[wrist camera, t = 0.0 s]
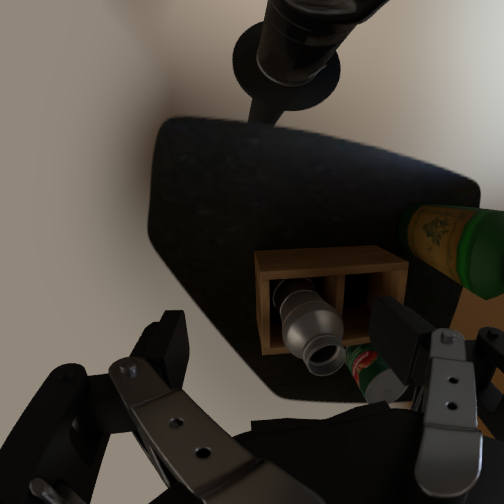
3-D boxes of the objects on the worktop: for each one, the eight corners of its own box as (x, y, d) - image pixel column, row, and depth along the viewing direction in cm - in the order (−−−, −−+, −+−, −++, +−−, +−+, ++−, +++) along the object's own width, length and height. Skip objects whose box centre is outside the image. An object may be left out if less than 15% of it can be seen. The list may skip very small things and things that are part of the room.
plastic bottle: (259, 276, 43) (277, 351, 23) (301, 256, 42) (350, 315, 23) (277, 311, 44) (304, 398, 25) (317, 292, 44) (368, 367, 24)
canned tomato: (343, 338, 46) (368, 375, 36) (384, 328, 46) (414, 360, 36) (342, 373, 48) (363, 412, 37) (381, 363, 48) (406, 398, 38)
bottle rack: (254, 250, 42) (260, 271, 32) (375, 245, 43) (409, 262, 33) (256, 319, 44) (262, 355, 35) (369, 309, 45) (397, 337, 36)
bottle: (383, 209, 41) (530, 253, 14) (431, 187, 41) (571, 209, 14) (399, 269, 44) (522, 351, 17) (444, 244, 43) (567, 298, 16)
